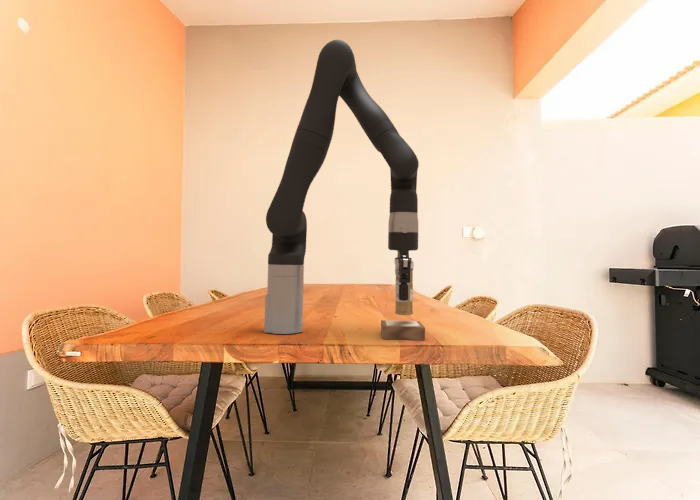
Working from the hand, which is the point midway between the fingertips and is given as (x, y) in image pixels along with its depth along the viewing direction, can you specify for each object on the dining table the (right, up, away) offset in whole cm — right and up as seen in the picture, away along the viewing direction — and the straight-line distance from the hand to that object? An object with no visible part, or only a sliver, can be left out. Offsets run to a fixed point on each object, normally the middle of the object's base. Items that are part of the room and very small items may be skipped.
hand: (402, 299), depth 103 cm
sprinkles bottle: (0, -4, 0) cm, 4 cm away
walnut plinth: (0, -9, 0) cm, 9 cm away
